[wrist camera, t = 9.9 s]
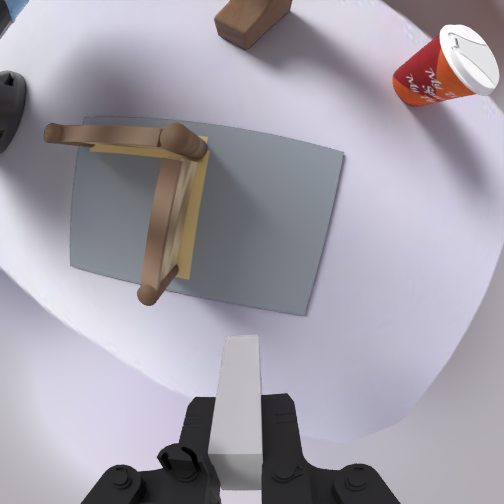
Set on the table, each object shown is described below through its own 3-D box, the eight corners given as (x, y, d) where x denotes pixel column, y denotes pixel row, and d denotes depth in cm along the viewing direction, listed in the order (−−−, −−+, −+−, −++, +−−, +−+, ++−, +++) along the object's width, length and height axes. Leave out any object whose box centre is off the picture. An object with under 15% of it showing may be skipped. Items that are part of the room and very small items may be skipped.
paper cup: (385, 105, 27) (454, 73, 14) (383, 54, 25) (440, 7, 12) (434, 121, 27) (507, 106, 14) (431, 72, 25) (495, 43, 12)
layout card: (72, 264, 33) (69, 266, 32) (86, 117, 28) (84, 116, 27) (303, 313, 34) (304, 315, 33) (342, 152, 29) (344, 152, 28)
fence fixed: (84, 148, 28) (38, 144, 20) (87, 130, 28) (43, 121, 19) (205, 160, 29) (185, 153, 20) (209, 139, 28) (191, 124, 20)
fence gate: (184, 159, 28) (160, 153, 21) (201, 163, 29) (183, 158, 21) (161, 274, 32) (136, 302, 24) (177, 278, 32) (156, 308, 24)
